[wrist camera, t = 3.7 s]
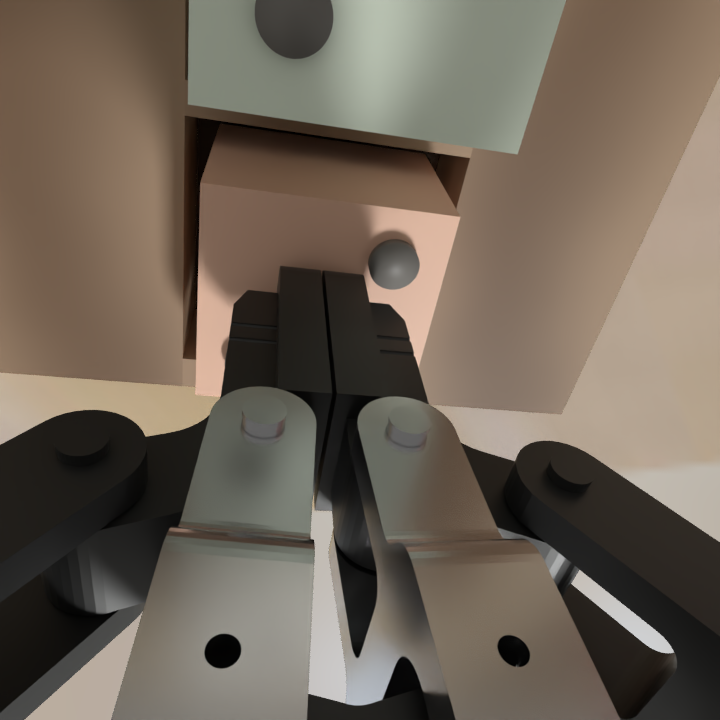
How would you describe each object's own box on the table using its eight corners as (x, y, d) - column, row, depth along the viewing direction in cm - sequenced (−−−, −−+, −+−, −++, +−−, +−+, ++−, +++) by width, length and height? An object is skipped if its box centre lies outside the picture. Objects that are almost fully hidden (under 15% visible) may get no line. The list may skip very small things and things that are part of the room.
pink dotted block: (424, 153, 13) (463, 221, 10) (385, 322, 16) (408, 416, 13) (220, 123, 13) (198, 187, 10) (212, 305, 15) (194, 401, 12)
